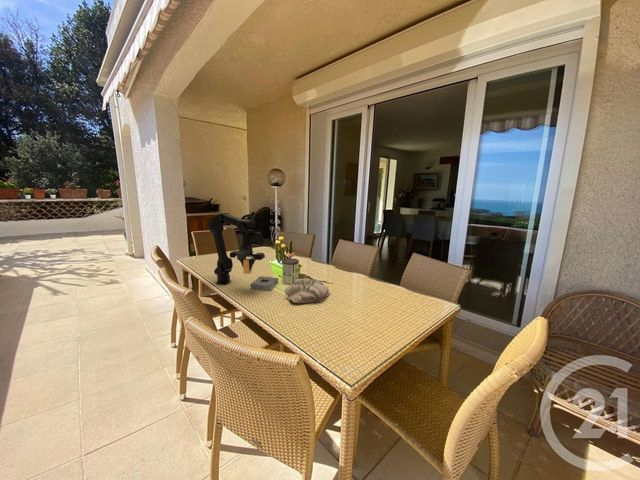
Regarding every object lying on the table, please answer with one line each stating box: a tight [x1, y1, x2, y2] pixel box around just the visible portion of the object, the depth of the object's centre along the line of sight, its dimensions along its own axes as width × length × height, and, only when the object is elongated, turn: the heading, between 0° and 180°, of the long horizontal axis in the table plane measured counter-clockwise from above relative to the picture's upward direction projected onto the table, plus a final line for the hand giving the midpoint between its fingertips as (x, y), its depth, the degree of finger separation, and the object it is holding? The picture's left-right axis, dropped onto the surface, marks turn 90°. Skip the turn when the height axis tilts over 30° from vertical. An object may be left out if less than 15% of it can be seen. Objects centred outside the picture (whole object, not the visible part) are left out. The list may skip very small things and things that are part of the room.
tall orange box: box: [242, 257, 252, 275], centre depth 144 cm, size 3×3×8 cm
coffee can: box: [281, 258, 300, 286], centre depth 160 cm, size 10×10×14 cm
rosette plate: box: [249, 275, 279, 292], centre depth 153 cm, size 12×14×4 cm
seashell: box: [284, 277, 331, 304], centre depth 140 cm, size 28×18×15 cm, turn 133°
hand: (247, 269), depth 144 cm, fingers closed on tall orange box, 3 cm apart
